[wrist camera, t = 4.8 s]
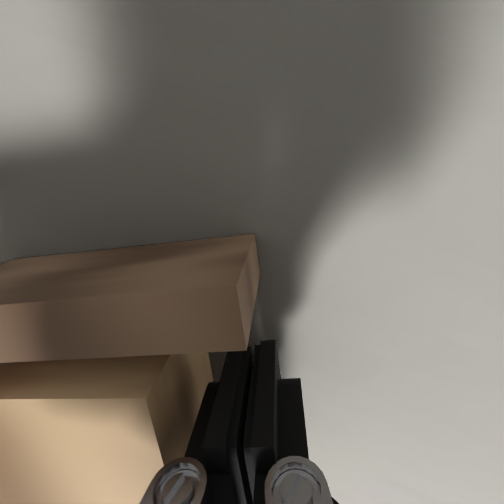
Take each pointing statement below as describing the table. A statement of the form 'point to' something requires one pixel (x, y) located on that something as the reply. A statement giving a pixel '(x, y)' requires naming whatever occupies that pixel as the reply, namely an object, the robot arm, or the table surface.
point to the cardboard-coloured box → (95, 425)
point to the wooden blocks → (130, 301)
